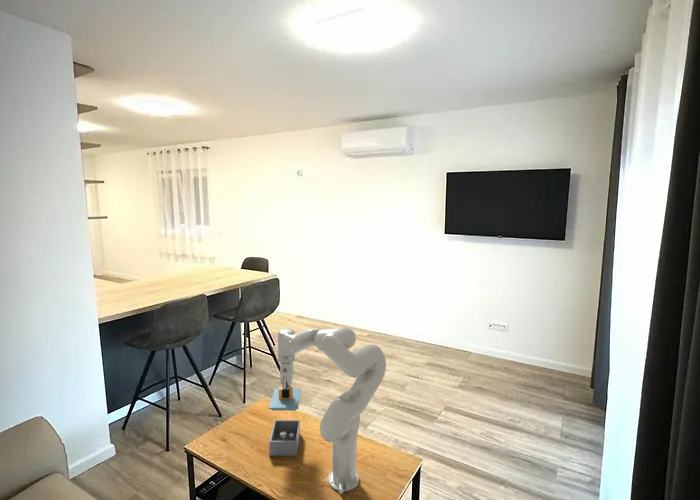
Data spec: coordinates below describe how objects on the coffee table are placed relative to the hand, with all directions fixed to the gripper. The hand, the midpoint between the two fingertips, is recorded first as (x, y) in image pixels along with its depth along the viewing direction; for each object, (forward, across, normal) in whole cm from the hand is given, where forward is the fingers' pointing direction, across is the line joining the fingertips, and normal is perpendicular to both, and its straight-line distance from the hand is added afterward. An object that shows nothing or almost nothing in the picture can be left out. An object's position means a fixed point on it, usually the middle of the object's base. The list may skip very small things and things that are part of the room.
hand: (286, 395), depth 170 cm
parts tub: (+24, 0, 0) cm, 24 cm away
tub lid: (+3, 0, 0) cm, 3 cm away
